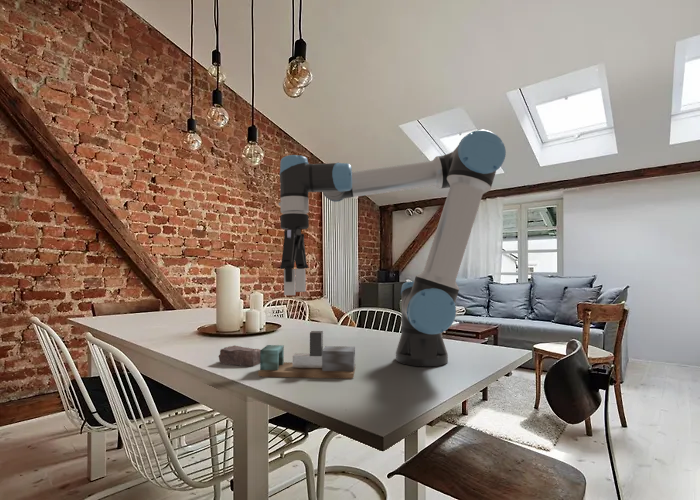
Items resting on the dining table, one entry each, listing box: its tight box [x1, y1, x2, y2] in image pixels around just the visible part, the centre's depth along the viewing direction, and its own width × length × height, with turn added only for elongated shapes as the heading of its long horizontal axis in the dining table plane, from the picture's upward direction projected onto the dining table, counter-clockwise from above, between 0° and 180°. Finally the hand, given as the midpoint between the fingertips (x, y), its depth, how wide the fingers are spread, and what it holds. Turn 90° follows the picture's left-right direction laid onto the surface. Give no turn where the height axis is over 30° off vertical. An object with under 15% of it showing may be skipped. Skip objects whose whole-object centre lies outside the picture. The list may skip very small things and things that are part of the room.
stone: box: [218, 345, 261, 367], centre depth 114 cm, size 9×12×5 cm
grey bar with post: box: [292, 330, 356, 368], centre depth 103 cm, size 16×3×9 cm, turn 86°
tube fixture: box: [257, 344, 356, 379], centre depth 103 cm, size 24×10×6 cm, turn 86°
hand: (295, 293), depth 104 cm, fingers open, 13 cm apart
